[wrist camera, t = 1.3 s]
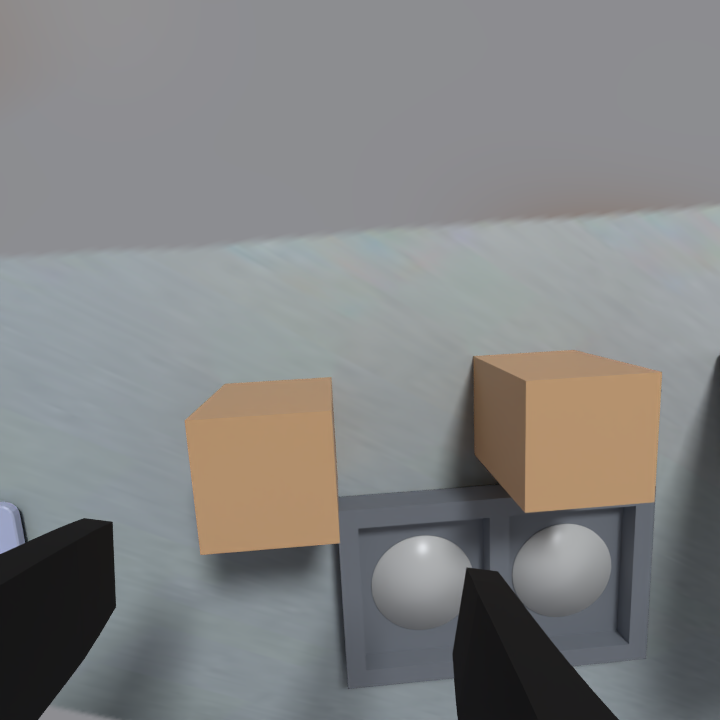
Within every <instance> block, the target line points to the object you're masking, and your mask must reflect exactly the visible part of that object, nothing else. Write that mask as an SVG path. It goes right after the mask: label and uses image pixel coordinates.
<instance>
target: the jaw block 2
mask: <svg viewBox="0 0 720 720" xmlns="http://www.w3.org/2000/svg"><path fill="white" fill-rule="evenodd" d="M473 360H474V452H475V456H476V457H477V458H478V459H479V460H480V462H481V463H482V464H483V465H484V466H485V467H486V468H487V470H488V471H489V472H490V473H491V474H492V475H493V477H494V478H495V479H496V480H497V481H498V482H499V483H500V485H501V486H502V487H503V488H504V489H505V490H506V492H507V493H508V494H509V495H510V496H511V497H512V498H513V500H514V501H515V502H516V503H517V504H518V505H519V507H520V508H521V509H522V510H523V511H524V512H525V513H529V512H542V511H554V510H566V509H578V508H591V507H603V506H615V505H627V504H640V503H652V502H655V485H656V467H657V450H658V433H659V415H660V398H661V381H662V372H660V371H656V370H652V369H648V368H644V367H640V366H636V365H632V364H628V363H624V362H620V361H616V360H612V359H608V358H604V357H600V356H596V355H592V354H588V353H584V352H580V351H576V350H566V351H550V352H533V353H517V354H501V355H485V356H473Z"/></svg>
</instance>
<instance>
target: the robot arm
mask: <svg viewBox="0 0 720 720" xmlns="http://www.w3.org/2000/svg"><path fill="white" fill-rule="evenodd" d="M115 608H116V597H115V572H114V547H113V522H109V521H102V520H94V519H86V518H84V519H81V520H78V521H75V522H73V523H70V524H68V525H65V526H63V527H60V528H58V529H56V530H53V531H51V532H49V533H46V534H44V535H42V536H39V537H37V538H35V539H33V540H30V541H28V542H26V543H25V539H24V534H23V529H22V523H21V518H20V513H19V510H18V508H17V507H16V506H15V505H14V504H11V503H9V502H0V720H38V719H39V718H40V716H41V715H42V714H43V713H44V711H45V710H46V709H47V707H48V706H49V705H50V703H51V702H52V701H53V700H54V698H55V697H56V696H57V694H58V693H59V692H60V690H61V689H62V688H63V686H64V685H65V684H66V683H67V681H68V680H69V679H70V677H71V676H72V675H73V673H74V672H75V671H76V669H77V668H78V667H79V665H80V664H81V663H82V661H83V660H84V659H85V657H86V655H87V654H88V652H89V651H90V649H91V647H92V646H93V644H94V643H95V641H96V640H97V638H98V636H99V635H100V633H101V631H102V630H103V628H104V626H105V625H106V623H107V621H108V620H109V618H110V616H111V614H112V613H113V611H114V609H115ZM452 656H453V670H454V683H455V695H456V706H457V716H458V720H619V719H618V718H617V717H616V716H615V715H614V714H613V713H612V712H611V711H610V709H609V708H608V707H607V706H606V705H605V704H604V703H603V702H602V700H601V699H600V698H599V697H598V696H597V695H596V694H595V693H594V692H593V690H592V689H591V688H590V687H589V686H588V685H587V683H586V682H585V681H584V680H583V679H582V678H581V676H580V675H579V674H578V673H577V672H576V670H575V669H574V668H573V667H572V665H571V664H570V663H569V662H568V661H567V659H566V658H565V657H564V656H563V654H562V653H561V652H560V651H559V650H558V648H557V647H556V646H555V645H554V643H553V642H552V641H551V640H550V638H549V637H548V636H547V635H546V633H545V632H544V631H543V629H542V628H541V627H540V626H539V624H538V623H537V622H536V620H535V619H534V618H533V616H532V615H531V614H530V613H529V611H528V610H527V609H526V607H525V606H524V605H523V603H522V602H521V601H520V599H519V598H518V597H517V595H516V594H515V593H514V592H513V590H512V589H511V588H510V586H509V585H508V584H507V582H506V581H505V580H504V578H503V577H502V576H501V575H500V573H499V572H498V571H492V570H484V569H476V568H468V567H466V573H465V579H464V585H463V591H462V598H461V604H460V610H459V616H458V622H457V628H456V634H455V641H454V647H453V653H452Z"/></svg>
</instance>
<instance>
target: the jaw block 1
mask: <svg viewBox="0 0 720 720" xmlns="http://www.w3.org/2000/svg"><path fill="white" fill-rule="evenodd" d="M185 427H186V436H187V444H188V453H189V461H190V469H191V478H192V486H193V495H194V503H195V512H196V520H197V528H198V537H199V545H200V554H201V555H206V554H218V553H230V552H242V551H254V550H266V549H278V548H290V547H302V546H313V545H325V544H337V543H340V529H339V503H338V476H337V460H336V444H335V428H334V412H333V396H332V380H331V377H328V378H312V379H295V380H279V381H263V382H247V383H231V384H224V385H223V386H222V387H221V388H220V389H219V390H218V391H217V392H216V393H214V394H213V395H212V396H211V397H210V398H209V399H208V400H207V401H206V402H205V403H203V404H202V405H201V406H200V407H199V408H198V409H197V410H196V411H195V412H194V413H192V414H191V415H190V416H189V417H188V418H187V419H186V420H185Z"/></svg>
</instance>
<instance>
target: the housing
mask: <svg viewBox="0 0 720 720" xmlns="http://www.w3.org/2000/svg"><path fill="white" fill-rule="evenodd" d="M655 495H656V486H655ZM338 503H339V529H340V543H339V554H340V569H341V585H342V601H343V616H344V632H345V647H346V663H347V679H348V689H351V688H361V687H371V686H380V685H390V684H400V683H410V682H420V681H430V680H440V679H450V678H454V670H453V656H452V653H453V647H454V641H455V634H456V628H457V622H458V616H459V610H460V604H461V598H462V591H463V585H464V579H465V573H466V567H468V568H476V569H484V570H492V571H498V572H499V573H500V575H501V576H502V577H503V578H504V580H505V581H506V582H507V584H508V585H509V586H510V588H511V589H512V590H513V592H514V593H515V594H516V595H517V597H518V598H519V599H520V601H521V602H522V603H523V605H524V606H525V607H526V609H527V610H528V611H529V613H530V614H531V615H532V616H533V618H534V619H535V620H536V622H537V623H538V624H539V626H540V627H541V628H542V629H543V631H544V632H545V633H546V635H547V636H548V637H549V638H550V640H551V641H552V642H553V643H554V645H555V646H556V647H557V648H558V650H559V651H560V652H561V653H562V654H563V656H564V657H565V658H566V659H567V661H568V662H569V663H570V664H571V665H572V666H578V665H588V664H598V663H608V662H618V661H628V660H638V659H646V648H647V631H648V614H649V597H650V580H651V563H652V546H653V529H654V512H655V502H652V503H640V504H627V505H615V506H603V507H591V508H578V509H566V510H554V511H542V512H529V513H525V512H524V511H523V510H522V509H521V508H520V507H519V505H518V504H517V503H516V502H515V501H514V500H513V498H512V497H511V496H510V495H509V494H508V493H507V492H506V490H505V489H504V488H503V487H502V486H501V485H488V486H475V487H462V488H449V489H436V490H423V491H410V492H397V493H384V494H372V495H359V496H346V497H338Z"/></svg>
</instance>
